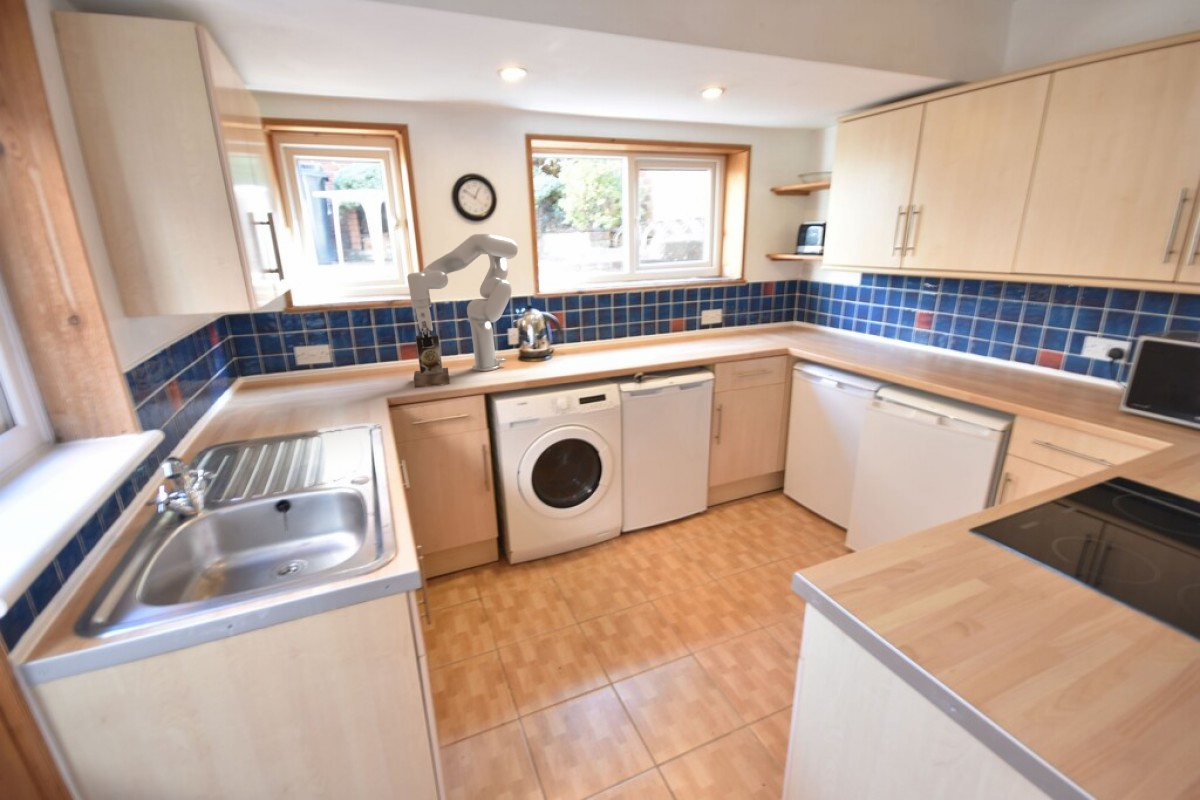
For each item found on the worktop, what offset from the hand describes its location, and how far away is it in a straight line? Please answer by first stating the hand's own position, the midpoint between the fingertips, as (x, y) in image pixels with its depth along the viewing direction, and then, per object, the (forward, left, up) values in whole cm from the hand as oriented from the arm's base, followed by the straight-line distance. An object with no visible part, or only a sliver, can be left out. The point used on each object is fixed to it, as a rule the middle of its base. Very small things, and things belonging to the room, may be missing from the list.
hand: (428, 344), depth 222 cm
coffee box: (0, 0, -13) cm, 13 cm away
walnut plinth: (0, 0, -16) cm, 16 cm away
